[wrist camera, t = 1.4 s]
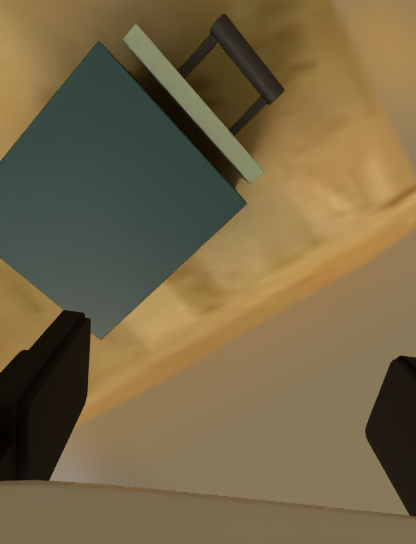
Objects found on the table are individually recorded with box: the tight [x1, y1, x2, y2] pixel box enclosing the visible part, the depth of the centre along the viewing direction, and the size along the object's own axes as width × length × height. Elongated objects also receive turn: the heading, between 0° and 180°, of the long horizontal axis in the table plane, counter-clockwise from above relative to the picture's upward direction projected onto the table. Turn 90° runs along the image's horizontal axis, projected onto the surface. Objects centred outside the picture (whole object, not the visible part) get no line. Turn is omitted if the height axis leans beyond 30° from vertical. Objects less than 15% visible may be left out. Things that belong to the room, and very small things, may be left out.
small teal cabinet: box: [0, 41, 247, 340], centre depth 27 cm, size 15×13×9 cm
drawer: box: [123, 14, 284, 184], centre depth 26 cm, size 18×11×7 cm, turn 134°
